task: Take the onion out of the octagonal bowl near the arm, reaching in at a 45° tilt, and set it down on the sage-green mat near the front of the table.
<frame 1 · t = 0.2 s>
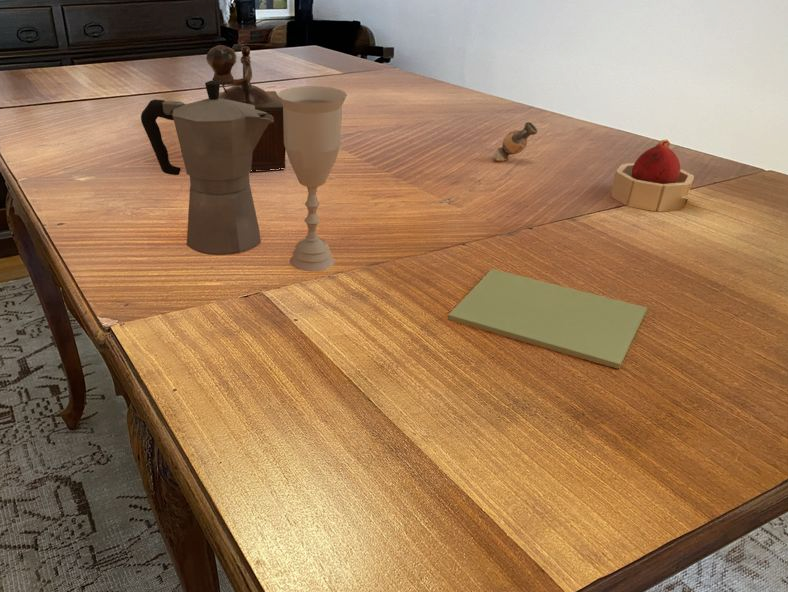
octagonal bowl: (648, 198, 97), on the table
coffeepot: (215, 240, 84), on the table
vase: (514, 162, 110), on the table
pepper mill: (249, 167, 107), on the table
mat: (547, 316, 69), on the table
chalice: (312, 263, 79), on the table
onion: (647, 199, 97), resting in octagonal bowl
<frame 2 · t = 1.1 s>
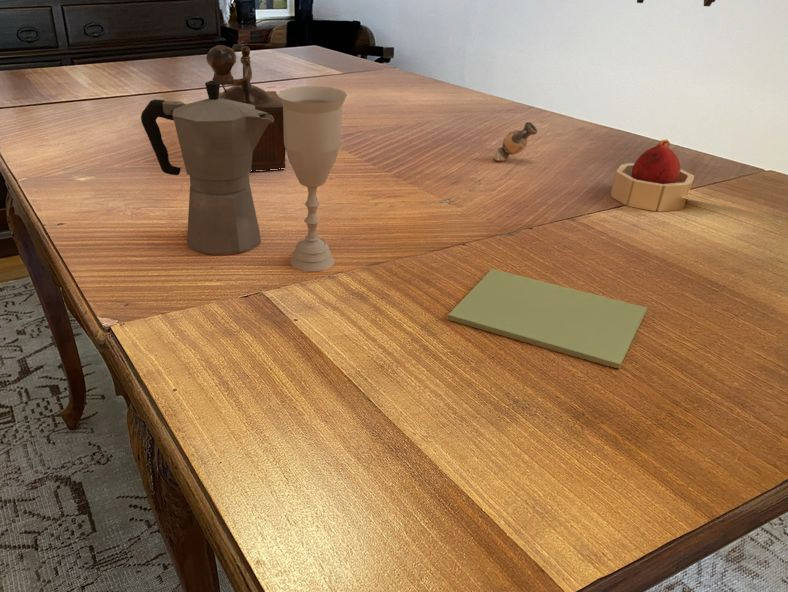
hand: (675, 0, 94), 23 cm above the table, tool tilted 45°, fingers open, 8 cm apart
nothing on the table moved.
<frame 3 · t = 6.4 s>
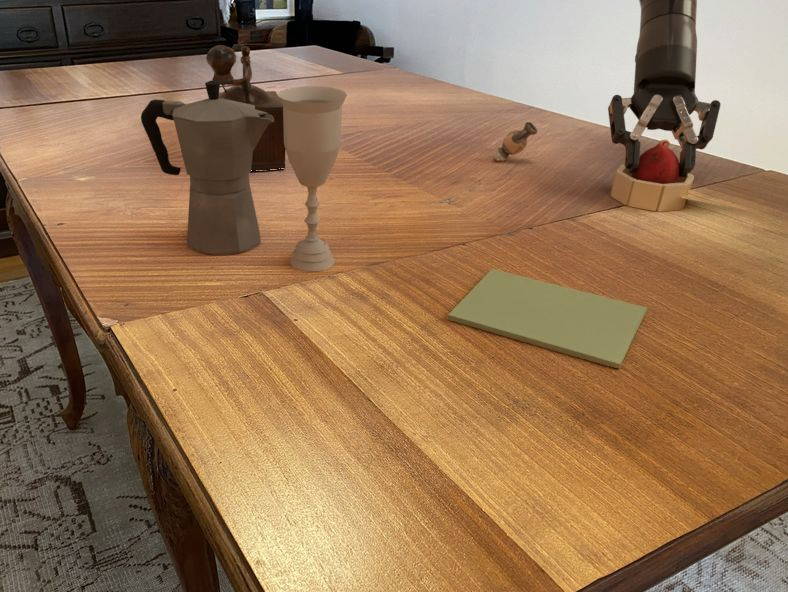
hand: (659, 172, 93), 4 cm above the table, tool tilted 45°, fingers closed on onion, 5 cm apart
onion: (648, 199, 97), resting in octagonal bowl, touching gripper
everything else where it was.
when the fingers open (5 cm above the table, at t = 17.6 s): onion stays where it is, resting on mat.
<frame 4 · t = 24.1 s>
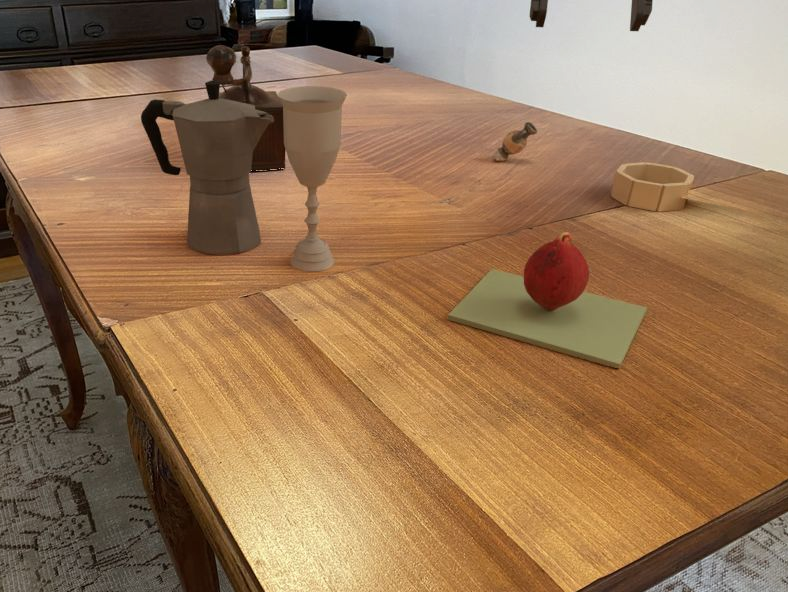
hand: (588, 23, 65), 25 cm above the table, tool tilted 45°, fingers open, 8 cm apart
onion: (547, 311, 69), resting on mat
everything else where it was.
at the end: onion inside the target area on the mat (0.1 cm from its centre), point 0.4 cm above the mat's base; the gripper is holding nothing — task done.
